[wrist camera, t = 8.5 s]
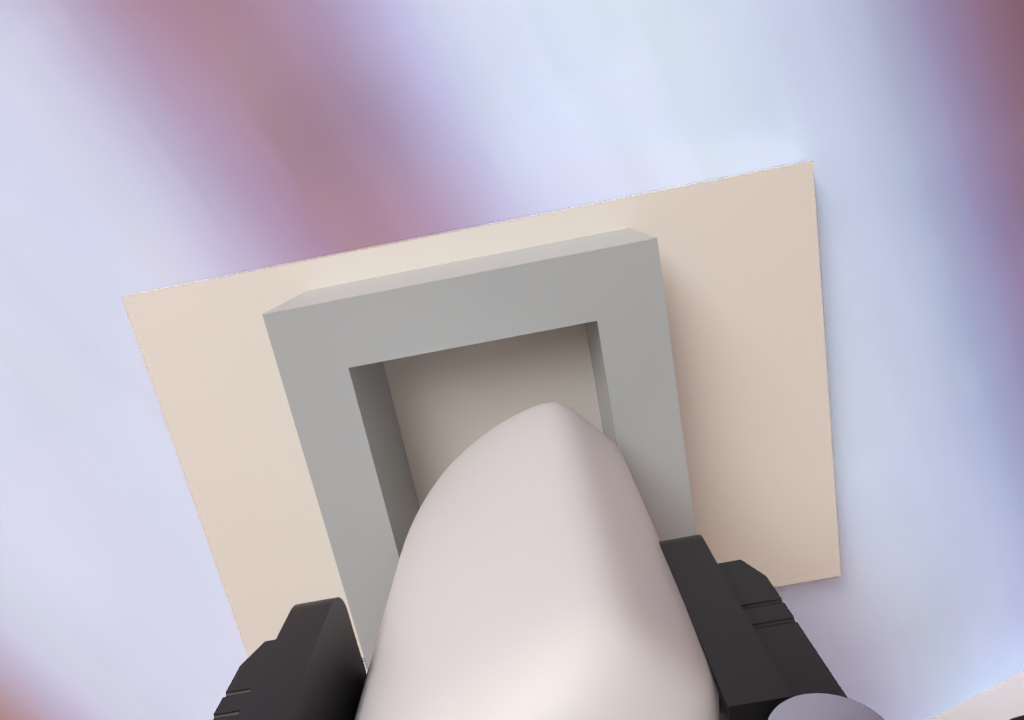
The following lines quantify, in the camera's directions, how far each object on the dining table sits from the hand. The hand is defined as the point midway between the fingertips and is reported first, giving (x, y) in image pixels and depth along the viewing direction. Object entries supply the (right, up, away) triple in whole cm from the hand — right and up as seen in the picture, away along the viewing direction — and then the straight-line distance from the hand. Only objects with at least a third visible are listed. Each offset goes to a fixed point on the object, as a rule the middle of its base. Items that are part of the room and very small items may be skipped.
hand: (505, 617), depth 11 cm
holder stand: (0, +2, +8) cm, 8 cm away
